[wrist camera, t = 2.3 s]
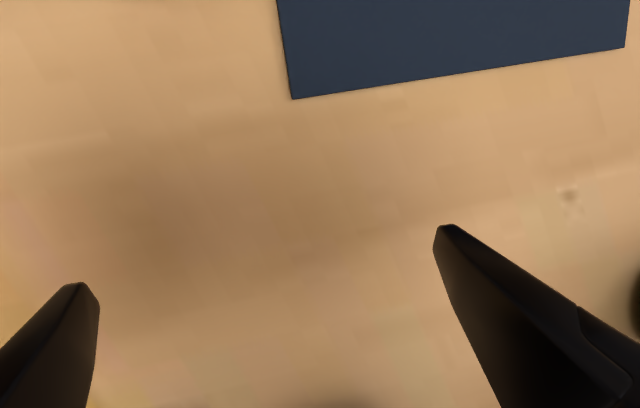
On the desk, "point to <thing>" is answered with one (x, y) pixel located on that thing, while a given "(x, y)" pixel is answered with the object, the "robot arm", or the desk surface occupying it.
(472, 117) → the desk surface
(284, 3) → the felt mat
